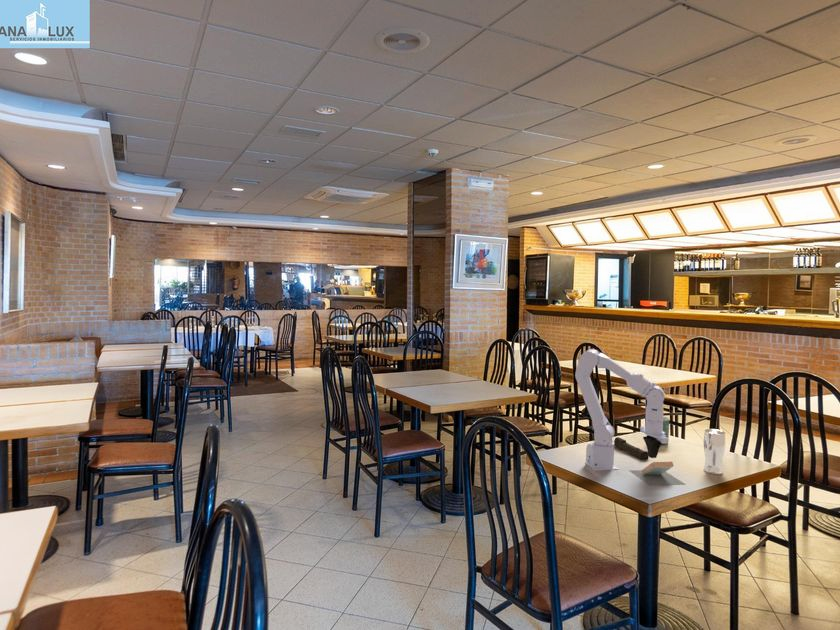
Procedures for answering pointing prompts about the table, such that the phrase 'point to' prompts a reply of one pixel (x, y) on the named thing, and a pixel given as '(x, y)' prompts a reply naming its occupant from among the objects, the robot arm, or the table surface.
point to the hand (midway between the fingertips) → (652, 457)
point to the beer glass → (714, 450)
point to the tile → (657, 468)
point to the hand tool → (630, 449)
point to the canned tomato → (666, 428)
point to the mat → (657, 478)
